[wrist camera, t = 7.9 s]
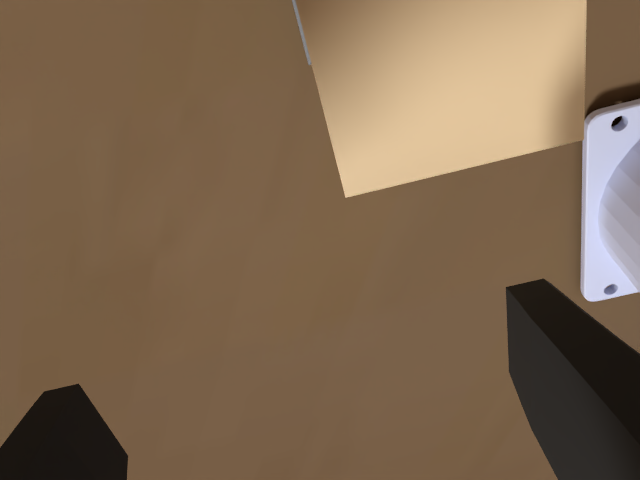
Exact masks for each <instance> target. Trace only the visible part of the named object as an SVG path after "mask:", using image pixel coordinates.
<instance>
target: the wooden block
mask: <svg viewBox="0 0 640 480" xmlns="http://www.w3.org/2000/svg"><path fill="white" fill-rule="evenodd" d="M295 1H296V5H297V9H298V13H299V17H300V21H301V24H302V28H303V32H304V36H305V40H306V44H307V48H308V52H309V56H310V60H311V64H312V68H313V72H314V75H315V79H316V83H317V87H318V91H319V95H320V99H321V103H322V107H323V111H324V115H325V119H326V123H327V127H328V130H329V134H330V138H331V142H332V146H333V150H334V154H335V158H336V162H337V166H338V170H339V174H340V178H341V181H342V185H343V189H344V193H345V197H351V196H355V195H359V194H363V193H367V192H371V191H375V190H379V189H383V188H388V187H392V186H396V185H400V184H404V183H408V182H412V181H416V180H421V179H425V178H429V177H433V176H437V175H441V174H445V173H449V172H454V171H458V170H462V169H466V168H470V167H474V166H478V165H482V164H487V163H491V162H495V161H499V160H503V159H507V158H511V157H515V156H519V155H524V154H528V153H532V152H536V151H540V150H544V149H548V148H552V147H557V146H561V145H565V144H569V143H573V142H577V141H581V140H584V115H585V57H586V0H295Z"/></svg>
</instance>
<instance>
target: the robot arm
mask: <svg viewBox="0 0 640 480" xmlns="http://www.w3.org/2000/svg"><path fill="white" fill-rule="evenodd" d="M619 116H622V119H621V121H620V122H619V123H618V124H617V125H615V126H611V124H612V122H613V120H614V119H615V118H617V117H619ZM610 284H612V285H611V286H610V287H607V286H608V285H610ZM606 287H607V288H606ZM636 292H639V293H640V99H637V100H633V101H629V102H625V103H621V104H617V105H613V106H609V107H605V108H601V109H598V110H595V111H593V112H592V113H591V114H589V115H588V116H587V118H586V119H585V121H584V140H583V158H582V228H581V293H582V294H583V296H584V297H585V298H586V299H587V300H588V301H600V300H604V299H609V298H613V297H618V296H622V295H627V294H632V293H636ZM506 302H507V328H508V355H509V373H510V375H511V378H512V381H513V383H514V386H515V388H516V391H517V394H518V396H519V399H520V401H521V404H522V406H523V409H524V411H525V414H526V416H527V419H528V421H529V424H530V426H531V429H532V431H533V433H534V435H535V436H536V438H537V440H538V442H539V444H540V446H541V448H542V450H543V452H544V454H545V456H546V458H547V459H548V461H549V463H550V465H551V467H552V469H553V471H554V473H555V475H556V477H557V478H558V480H640V354H639V353H638V352H637V351H635V350H634V349H633V348H631V347H630V346H629V345H627V344H626V343H625V342H623V341H622V340H621V339H619V338H618V337H617V336H615V335H614V334H613V333H612V332H610V331H609V330H608V329H606V328H605V327H604V326H603V325H601V324H600V323H599V322H598V321H596V320H595V319H594V318H592V317H591V316H590V315H589V314H588V313H586V312H585V311H584V310H583V309H581V308H580V307H579V306H578V305H576V304H575V303H574V302H573V301H571V300H570V299H569V298H568V297H567V296H565V295H564V294H563V293H562V292H561V291H559V290H558V289H557V288H556V287H554V286H553V285H552V284H551V283H549V282H548V281H546V280H545V279H540V280H536V281H531V282H527V283H522V284H518V285H514V286H509V287H506ZM127 463H128V455H127V454H126V452H125V451H124V449H123V448H122V446H121V445H120V443H119V442H118V440H117V439H116V438H115V436H114V435H113V433H112V432H111V430H110V429H109V427H108V426H107V424H106V423H105V421H104V420H103V419H102V417H101V416H100V414H99V413H98V411H97V410H96V408H95V407H94V405H93V404H92V402H91V401H90V400H89V398H88V397H87V395H86V394H85V392H84V391H83V389H82V388H81V386H80V385H79V384H76V385H71V386H67V387H62V388H58V389H54V390H49V391H45V392H43V394H42V395H41V396H40V397H39V398H38V400H37V401H36V402H35V403H34V405H33V406H32V407H31V408H30V410H29V411H28V412H27V413H26V415H25V416H24V417H23V419H22V420H21V421H20V423H19V424H18V425H17V426H16V428H15V429H14V430H13V432H12V433H11V434H10V436H9V437H8V438H7V440H6V441H5V442H4V444H3V445H2V446H1V448H0V480H127Z"/></svg>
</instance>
